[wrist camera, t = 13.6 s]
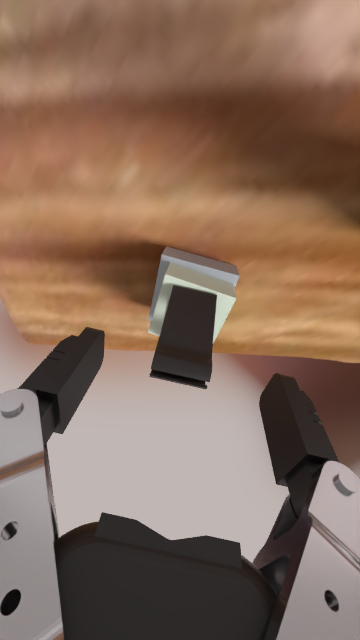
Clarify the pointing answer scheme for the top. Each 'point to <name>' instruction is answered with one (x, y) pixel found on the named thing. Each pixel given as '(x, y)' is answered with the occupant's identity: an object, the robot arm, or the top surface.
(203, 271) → the tower base slab
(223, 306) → the tower top block
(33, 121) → the top surface
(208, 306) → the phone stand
